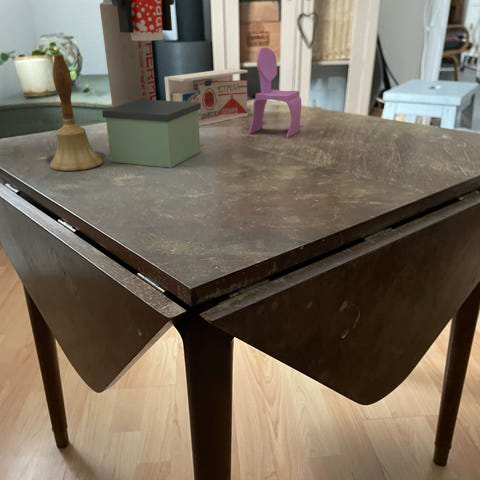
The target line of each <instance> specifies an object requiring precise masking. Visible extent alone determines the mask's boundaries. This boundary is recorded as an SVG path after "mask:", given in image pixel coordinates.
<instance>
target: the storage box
mask: <svg viewBox="0 0 480 480" xmlns="http://www.w3.org/2000/svg"><path fill="white" fill-rule="evenodd" d="M199 109H201V103H198V102H179V101H166V100H159V99H158V100H157V99H156V100H142V99H140V100H136V101H133V102H130V103H126V104H123V105H120V106H116V107H113V108H112V107H110V108H106V109H103V110H102V111H101V112H102V118H105V122H106V123H105V124H106V130H107V137H108V144H109V145H108V146H109V152H110V153H109V154H110V159H111V163H118V164H128V165H129V164H130V165H137V166H138V165H139V166H149V167H158V168H159V167H160V168H169V169H172V168H174V167H175V166H177V165H179V164H181V163H182V162H185V161H187V160H188V159H190V158H192V157H194V156H195V155H197V154H199V153H201V137H200V136H201V135H200V126H199V112H198V110H199Z"/></svg>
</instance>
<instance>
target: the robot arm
mask: <svg viewBox="0 0 480 480" xmlns="http://www.w3.org/2000/svg"><path fill="white" fill-rule="evenodd" d="M112 4H113V6H117V8H118V17H119V26H120V32H125V33H134V32H133V22H132V12H131V3H130V0H112ZM174 5H175V0H162V32H163V31H165V32H172V31H173V23H172V9H171V6H174Z"/></svg>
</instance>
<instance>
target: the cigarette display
mask: <svg viewBox="0 0 480 480" xmlns="http://www.w3.org/2000/svg"><path fill="white" fill-rule="evenodd" d="M246 73H249V72H248V69H237V68H225V69H216V70H209V71H201V72H193V73H186V74H178V75H169V76H164V89H165V90H164V91H165V101H179V102H198V103H201V109H199V110H198V112H199V127H202V126H206V125H211V124H216V123H220V122H225V121H230V120H234V119H239V118H244V117H248V116H249V113H248V80H246V79H241V80H240V79H238V80H237V79H236V80H234V75H239V74H246Z"/></svg>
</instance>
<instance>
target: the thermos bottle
mask: <svg viewBox="0 0 480 480" xmlns="http://www.w3.org/2000/svg"><path fill="white" fill-rule="evenodd" d="M99 10H100V20H101V28H102V36H103V43H104V51H105V60H106V69H107V76H108V77H107V78H108V84H109V92H110V99H111V101H110V102H111V108H113V107H116V106H120V105H123V104H126V103H130V102H133V101H136V100H140V99H142V100H157V94H156V92H157V91H156V83H155V82H156V81H155V70H154V58H153V47H152V46H153V45H152V40H151V41H135V40H132V36H131V33H125V32H120V26H119V17H118V8H117V6H113V4H112V0H102V2H101V3H99Z"/></svg>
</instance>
